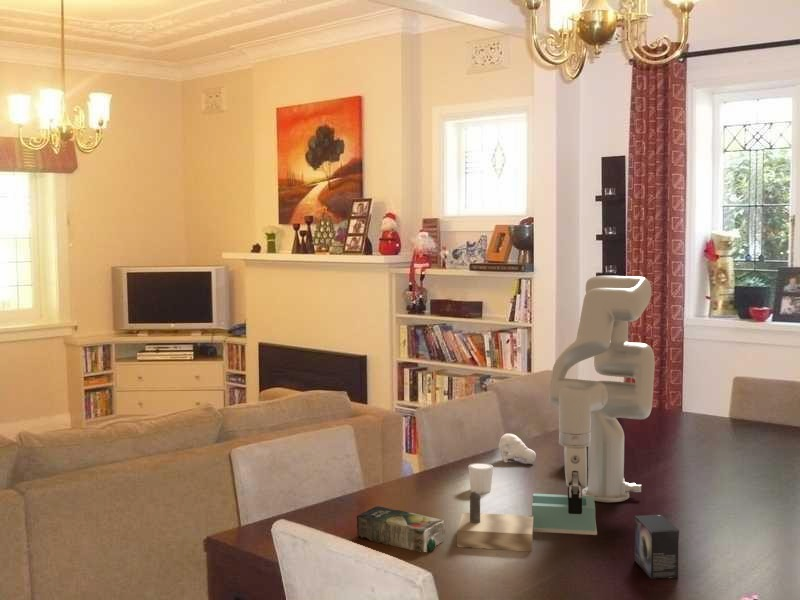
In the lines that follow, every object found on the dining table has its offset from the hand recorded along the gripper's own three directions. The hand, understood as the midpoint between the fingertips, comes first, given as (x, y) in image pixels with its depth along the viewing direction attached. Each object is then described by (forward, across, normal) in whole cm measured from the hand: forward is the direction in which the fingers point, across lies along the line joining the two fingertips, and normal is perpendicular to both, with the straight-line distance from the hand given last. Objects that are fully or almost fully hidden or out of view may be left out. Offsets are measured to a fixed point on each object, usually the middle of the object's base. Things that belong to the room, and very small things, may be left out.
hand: (574, 506), depth 220 cm
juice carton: (+5, -14, +40) cm, 43 cm away
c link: (+5, +3, +2) cm, 6 cm away
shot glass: (+7, +29, +25) cm, 39 cm away
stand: (+5, -10, +18) cm, 22 cm away
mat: (+6, +3, +2) cm, 7 cm away
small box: (+5, -23, -17) cm, 29 cm away
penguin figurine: (+8, +61, +16) cm, 63 cm away
